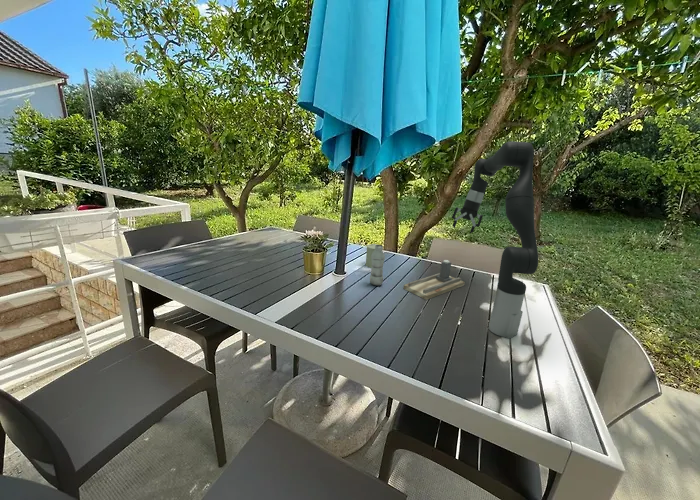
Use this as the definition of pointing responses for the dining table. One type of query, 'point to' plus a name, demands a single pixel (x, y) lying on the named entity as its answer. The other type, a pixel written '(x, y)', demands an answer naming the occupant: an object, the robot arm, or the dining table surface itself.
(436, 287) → the wooden tray
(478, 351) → the dining table surface
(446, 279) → the fader tab
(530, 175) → the robot arm
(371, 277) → the plastic bottle
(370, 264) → the can
